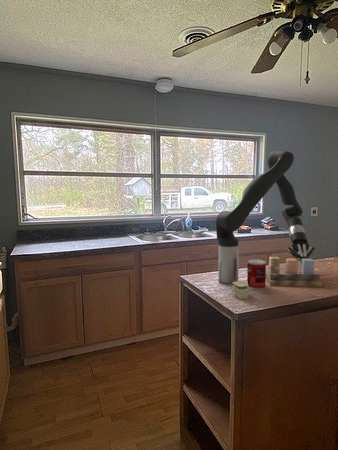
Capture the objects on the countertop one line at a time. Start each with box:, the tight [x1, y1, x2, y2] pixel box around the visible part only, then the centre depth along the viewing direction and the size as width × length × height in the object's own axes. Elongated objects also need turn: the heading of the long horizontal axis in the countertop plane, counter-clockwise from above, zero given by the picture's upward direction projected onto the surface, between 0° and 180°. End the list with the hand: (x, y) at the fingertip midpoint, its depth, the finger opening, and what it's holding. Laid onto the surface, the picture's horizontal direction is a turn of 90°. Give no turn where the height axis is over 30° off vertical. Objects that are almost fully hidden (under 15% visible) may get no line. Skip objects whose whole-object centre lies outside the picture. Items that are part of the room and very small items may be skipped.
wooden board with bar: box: [266, 271, 324, 288], centre depth 132 cm, size 22×16×4 cm
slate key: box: [300, 258, 315, 274], centre depth 130 cm, size 4×4×8 cm
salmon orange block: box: [285, 258, 299, 274], centre depth 131 cm, size 4×4×8 cm
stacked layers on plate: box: [231, 280, 250, 300], centre depth 114 cm, size 10×9×6 cm
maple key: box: [268, 256, 281, 274], centre depth 135 cm, size 4×4×8 cm
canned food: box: [246, 259, 267, 289], centre depth 126 cm, size 8×8×11 cm
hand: (304, 264), depth 134 cm, fingers closed
